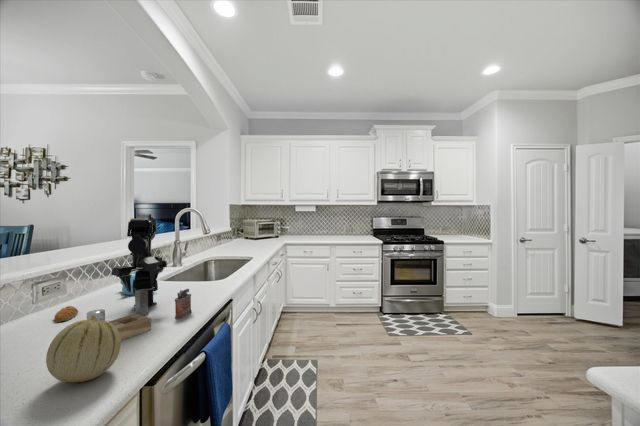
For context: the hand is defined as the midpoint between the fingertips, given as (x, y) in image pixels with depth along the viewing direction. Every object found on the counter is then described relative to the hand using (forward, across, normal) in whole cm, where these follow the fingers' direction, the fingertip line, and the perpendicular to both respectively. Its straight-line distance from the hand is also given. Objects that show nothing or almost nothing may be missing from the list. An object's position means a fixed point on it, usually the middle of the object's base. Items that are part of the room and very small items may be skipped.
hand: (141, 288), depth 117 cm
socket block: (+11, -12, -12) cm, 20 cm away
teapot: (+11, +19, +35) cm, 41 cm away
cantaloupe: (+11, -32, -31) cm, 46 cm away
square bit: (+11, 0, 0) cm, 11 cm away
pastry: (+11, -15, +24) cm, 31 cm away
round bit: (+11, -15, +2) cm, 19 cm away
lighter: (+11, +8, -15) cm, 20 cm away
